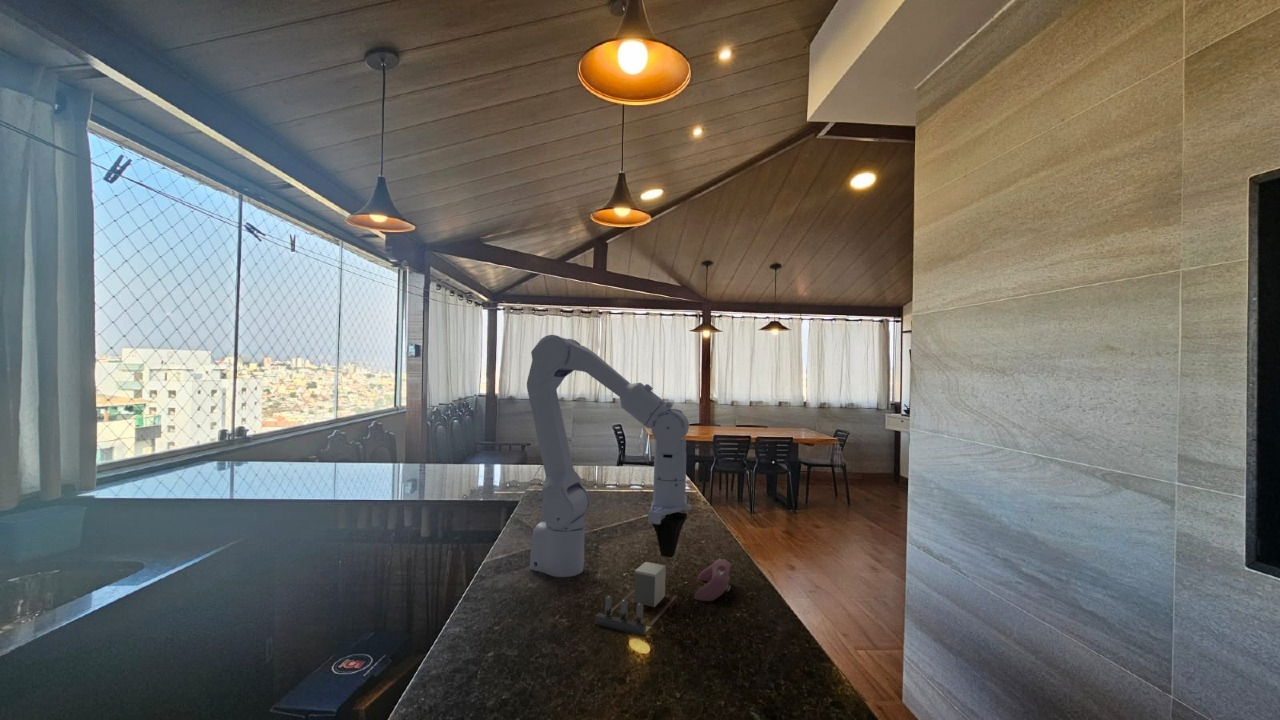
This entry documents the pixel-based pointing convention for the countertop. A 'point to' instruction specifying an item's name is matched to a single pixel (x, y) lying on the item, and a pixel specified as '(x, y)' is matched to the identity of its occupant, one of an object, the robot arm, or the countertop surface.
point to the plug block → (649, 584)
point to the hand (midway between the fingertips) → (667, 555)
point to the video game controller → (714, 581)
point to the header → (622, 618)
